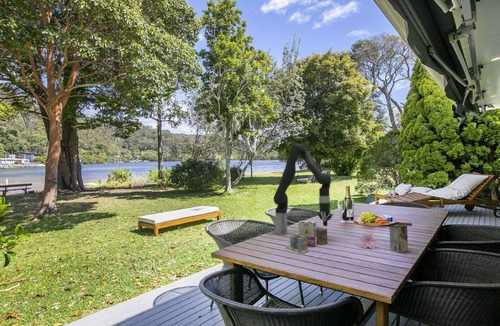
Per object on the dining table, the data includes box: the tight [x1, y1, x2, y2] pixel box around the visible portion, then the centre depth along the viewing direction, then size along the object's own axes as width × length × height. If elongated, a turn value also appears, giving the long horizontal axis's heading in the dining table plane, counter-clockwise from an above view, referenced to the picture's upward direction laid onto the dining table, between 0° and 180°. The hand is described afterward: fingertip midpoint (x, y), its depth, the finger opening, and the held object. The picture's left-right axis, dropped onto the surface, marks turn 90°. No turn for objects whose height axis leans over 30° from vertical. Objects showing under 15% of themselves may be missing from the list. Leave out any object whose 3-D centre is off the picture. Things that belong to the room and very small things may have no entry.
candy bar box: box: [298, 220, 318, 248], centre depth 193 cm, size 11×5×16 cm, turn 59°
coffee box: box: [389, 223, 409, 254], centre depth 181 cm, size 9×6×16 cm
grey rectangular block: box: [285, 233, 310, 255], centre depth 193 cm, size 15×27×10 cm, turn 128°
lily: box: [356, 231, 379, 251], centre depth 189 cm, size 12×12×10 cm
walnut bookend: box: [316, 226, 328, 246], centre depth 199 cm, size 12×6×10 cm, turn 38°
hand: (325, 225), depth 204 cm, fingers closed
